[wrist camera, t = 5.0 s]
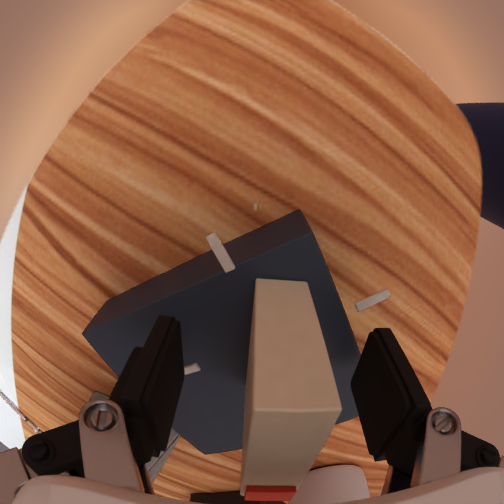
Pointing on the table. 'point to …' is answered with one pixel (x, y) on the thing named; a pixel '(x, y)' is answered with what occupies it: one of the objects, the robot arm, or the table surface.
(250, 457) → the knob
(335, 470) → the pill bottle
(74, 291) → the table surface
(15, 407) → the missile
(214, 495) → the button box
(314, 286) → the panel
